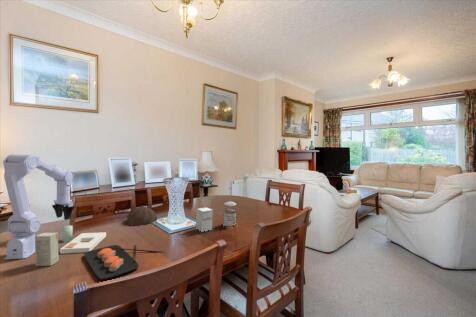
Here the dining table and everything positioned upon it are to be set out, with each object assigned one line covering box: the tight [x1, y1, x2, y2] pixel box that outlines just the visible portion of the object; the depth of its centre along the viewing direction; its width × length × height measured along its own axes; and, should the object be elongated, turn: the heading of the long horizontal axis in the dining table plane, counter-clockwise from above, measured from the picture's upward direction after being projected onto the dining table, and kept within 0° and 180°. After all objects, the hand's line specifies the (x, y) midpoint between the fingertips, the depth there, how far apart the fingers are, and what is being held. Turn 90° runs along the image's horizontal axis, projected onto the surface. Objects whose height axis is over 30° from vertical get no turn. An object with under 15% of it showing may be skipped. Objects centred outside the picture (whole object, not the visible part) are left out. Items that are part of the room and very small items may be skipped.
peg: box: [61, 224, 74, 243], centre depth 116 cm, size 4×4×7 cm
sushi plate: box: [83, 244, 163, 280], centre depth 100 cm, size 29×30×4 cm
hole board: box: [59, 232, 107, 255], centre depth 112 cm, size 20×12×2 cm, turn 11°
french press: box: [219, 186, 237, 226], centre depth 147 cm, size 10×12×25 cm
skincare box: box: [34, 232, 60, 267], centre depth 93 cm, size 6×4×12 cm
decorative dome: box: [125, 206, 158, 227], centre depth 150 cm, size 19×20×10 cm
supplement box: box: [195, 207, 213, 233], centre depth 137 cm, size 7×7×13 cm
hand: (63, 218), depth 123 cm, fingers open, 7 cm apart
